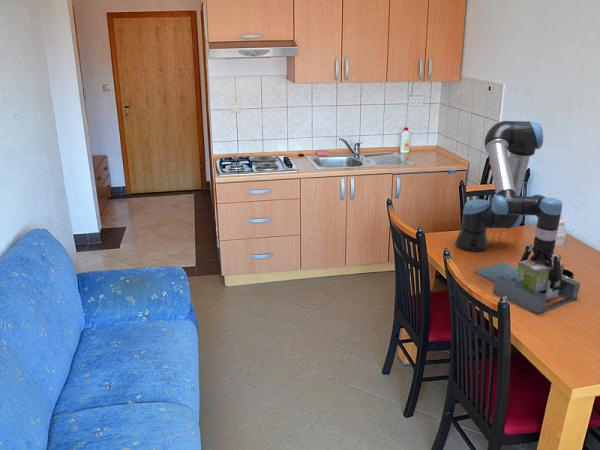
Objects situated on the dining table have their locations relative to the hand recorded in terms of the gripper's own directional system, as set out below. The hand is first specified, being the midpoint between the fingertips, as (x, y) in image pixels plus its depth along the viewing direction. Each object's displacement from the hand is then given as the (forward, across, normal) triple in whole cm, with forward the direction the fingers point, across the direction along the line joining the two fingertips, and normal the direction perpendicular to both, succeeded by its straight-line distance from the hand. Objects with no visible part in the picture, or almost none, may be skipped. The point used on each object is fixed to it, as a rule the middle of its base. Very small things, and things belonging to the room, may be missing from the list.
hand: (536, 289), depth 214 cm
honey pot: (+3, -35, +62) cm, 71 cm away
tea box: (+3, 0, 0) cm, 3 cm away
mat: (+3, -21, +6) cm, 22 cm away
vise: (+3, 0, +3) cm, 4 cm away
